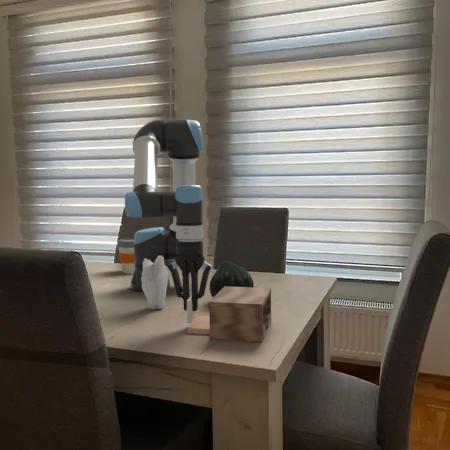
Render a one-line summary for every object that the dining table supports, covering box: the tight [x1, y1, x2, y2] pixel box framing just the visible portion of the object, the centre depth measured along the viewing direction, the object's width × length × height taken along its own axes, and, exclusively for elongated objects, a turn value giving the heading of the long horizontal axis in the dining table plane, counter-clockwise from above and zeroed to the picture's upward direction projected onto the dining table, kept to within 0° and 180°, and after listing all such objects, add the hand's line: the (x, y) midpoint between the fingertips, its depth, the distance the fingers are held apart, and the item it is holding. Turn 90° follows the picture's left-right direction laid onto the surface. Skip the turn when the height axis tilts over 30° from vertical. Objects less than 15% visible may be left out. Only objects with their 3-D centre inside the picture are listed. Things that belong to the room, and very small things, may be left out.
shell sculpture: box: [141, 256, 169, 310], centre depth 152 cm, size 8×8×18 cm
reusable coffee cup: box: [117, 237, 135, 275], centre depth 214 cm, size 13×13×15 cm
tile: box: [187, 315, 210, 335], centre depth 132 cm, size 18×12×2 cm, turn 77°
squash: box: [209, 260, 255, 299], centre depth 159 cm, size 14×15×15 cm
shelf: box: [208, 286, 272, 343], centre depth 130 cm, size 14×18×10 cm
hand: (191, 321), depth 133 cm, fingers closed
